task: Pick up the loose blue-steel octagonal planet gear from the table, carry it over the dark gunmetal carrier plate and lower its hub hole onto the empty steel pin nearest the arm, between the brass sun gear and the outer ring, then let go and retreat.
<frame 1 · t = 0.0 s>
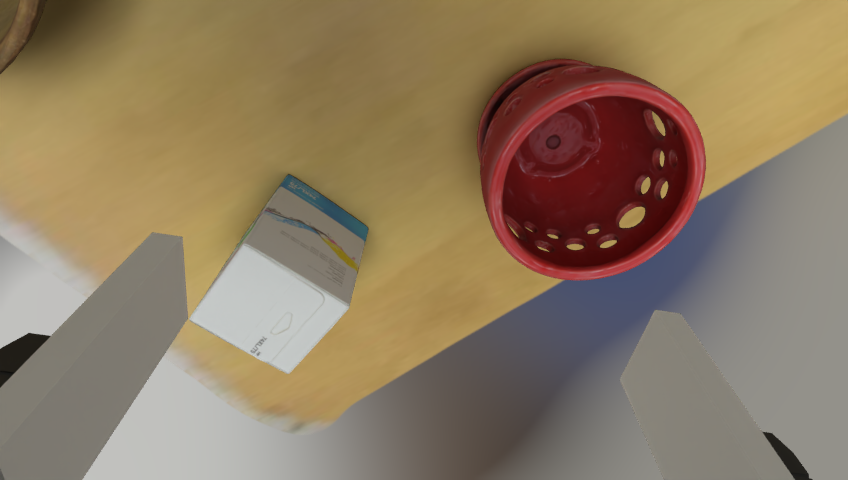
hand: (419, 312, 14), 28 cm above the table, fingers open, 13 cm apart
plant pot: (553, 130, 41), on the table
ink box: (304, 232, 45), on the table
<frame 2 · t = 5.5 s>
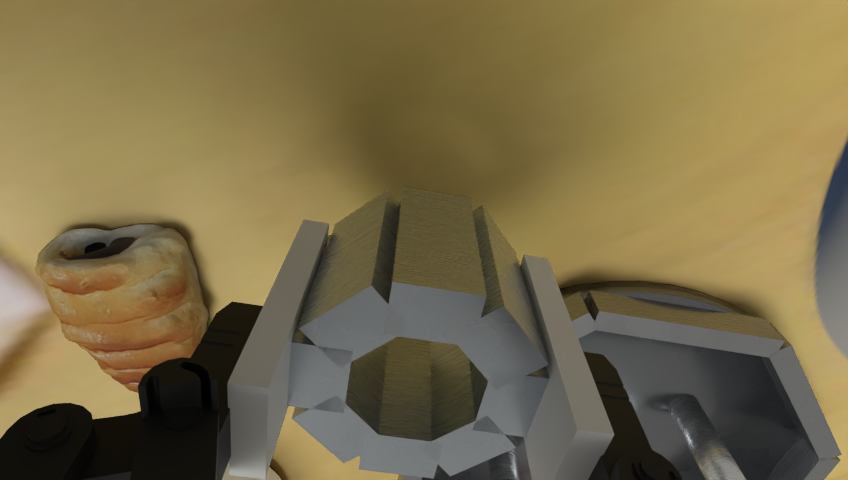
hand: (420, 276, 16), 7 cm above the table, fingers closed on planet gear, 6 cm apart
carrier: (592, 442, 29), on the table
planet gear: (419, 276, 16), point 7 cm above the table, touching gripper
pastry: (153, 288, 25), on the table
when the fingers open (2 cm above the table, at t = 8.4 s): planet gear stays where it is, resting on carrier.
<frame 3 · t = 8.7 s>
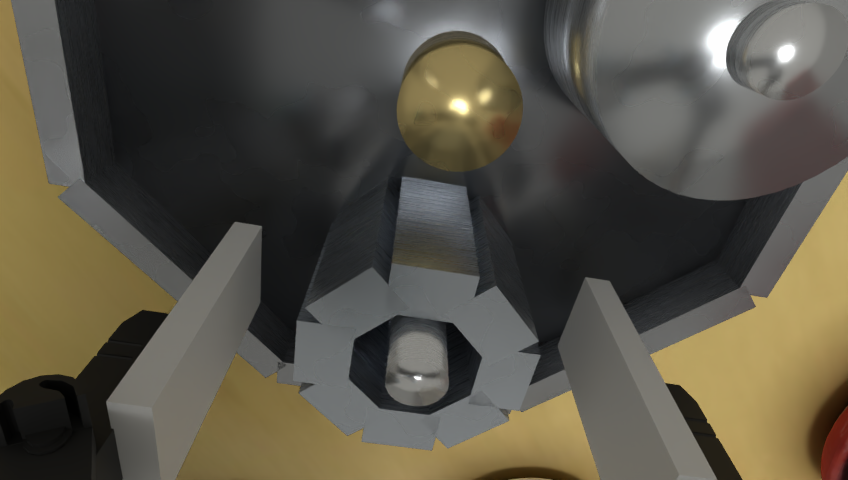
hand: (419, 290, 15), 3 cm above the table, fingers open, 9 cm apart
carrier: (453, 78, 15), on the table
planet gear: (418, 262, 17), point 1 cm above the table, touching carrier
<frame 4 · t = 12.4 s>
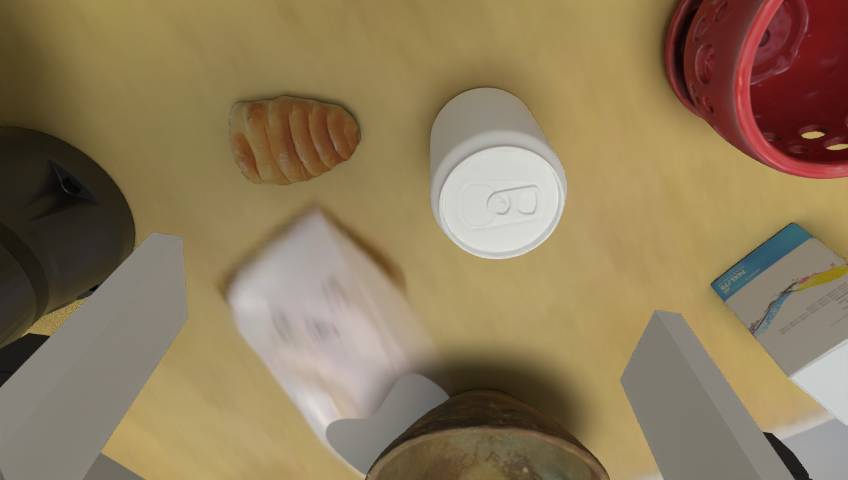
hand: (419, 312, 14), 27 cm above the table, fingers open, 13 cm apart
plant pot: (742, 27, 35), on the table
ink box: (775, 277, 46), on the table
pastry: (293, 131, 40), on the table
beverage can: (482, 137, 40), on the table
bowl: (478, 419, 55), on the table
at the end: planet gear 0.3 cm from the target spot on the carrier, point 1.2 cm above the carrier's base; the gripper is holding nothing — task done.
